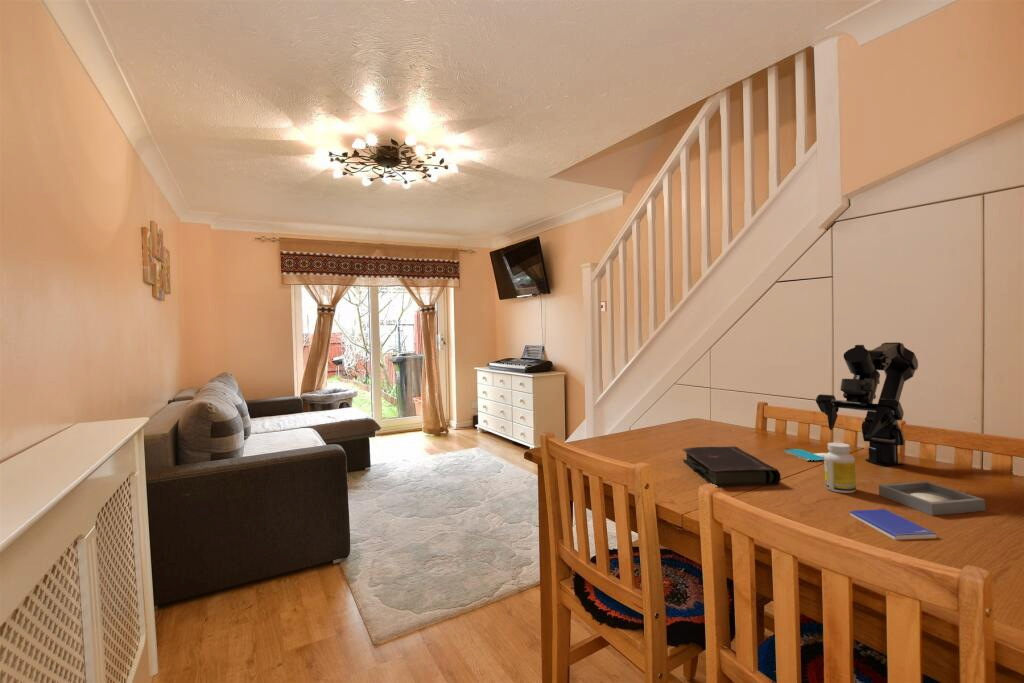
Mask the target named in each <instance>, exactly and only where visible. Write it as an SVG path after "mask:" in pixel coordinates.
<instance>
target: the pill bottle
mask: <svg viewBox="0 0 1024 683" xmlns="http://www.w3.org/2000/svg"><path fill="white" fill-rule="evenodd" d="M827 449H828V452H825V453H826V454H825V456H824V457H823V458H824V463H823V464H824V485H825V487H826V489H827V490H829V491H832V492H835V493H840V494H841V493H843V494H853V493H855V492H856V490H857V478H856V473H857V472H856V458H855V457H854V456H853V455H851V454H850V451H851V445H850V444H847V443H843V442H827Z"/></svg>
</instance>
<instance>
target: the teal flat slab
mask: <svg viewBox="0 0 1024 683" xmlns="http://www.w3.org/2000/svg"><path fill="white" fill-rule="evenodd" d="M783 452H784V454H787V455H788V456H791V457H795V458H796V459H799V460H802V461H804V460H805V462H807V461H810V460H811V461H813V460H814V462H816V461H817V462H816V463H823V462H824V456H825V454H826V453H827V452H819V453H818V452H817V453H813V452H809V451H807V450H803V449H802V448H799V449H797V448H795V449H793V448H791V447H788V448H786V449H783ZM820 461H821V462H820Z"/></svg>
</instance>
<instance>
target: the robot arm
mask: <svg viewBox="0 0 1024 683" xmlns="http://www.w3.org/2000/svg"><path fill="white" fill-rule="evenodd" d="M842 356H843V359H844V361H845V364H846V366H847V367H848V370H849V373H850V374H852V375H853V377H852V378H842V379H841V382H840V383H841V384H840V391H842V392H843V394H842V396H843V398H844V399H846V400H841V399H836V396H835V395H834V394H824V393H823V394H822V393H821V394H818V395H817V396H816V398H815V403H816V404H817V407H818V409H819V411H820V412H821V413H823V414H825V415H826V416H827V422H828V424H827V425H828V428H829V431H832V430H833V429H834V427H835V424H836V422H837V419H838V412H839V410H840V409H850V410H855V411H861V412H862V411H865V412H866V416H865V418H864V420H863V421H862V423H861V432H862V439H863V442H869V443H868V444H869V446H868V458H865V461H866V462H870V463H872V464H875V465H879V466H883V467H888V466H889V467H891V466H900V465H904V463H903V462H902V461H899V452H898V450H899V449H898V447H899V446H904V445H905V439H904V434H903V431H902V429H901V427H900V425H899V423H898V421H902V420H903V418H904V415H905V414H904V409H903V407H902V404H901V401H900V399H901V396H902V392H903V389H904V385H905V382H907V381H909V380H910V379H911V378H913V377H914V375H915V372H916V371H917V370H918V368H919V360H918V358H917V356H916V354H915V352H913V351H912V350H910V349H909V348H906V347H905V345H904V343H902V342H899V341H897V342H894V341H893V342H884V343H881V345H878V346H877V347H875V348H873V349H870V350H869V349H867V348H866V347H865V345H864V344H855V346H854V347H852V348H850V349H847V350H846V351H845V352H844V354H843V355H842ZM880 371H883V372H884V376H885V379H884V383H883V386H882V389H881V391H880V395H879V398H878V401H877V403H874V400H876V398H877V395H876V392H877V389H878V385H880V377H881V374H880Z"/></svg>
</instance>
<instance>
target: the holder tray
mask: <svg viewBox="0 0 1024 683" xmlns="http://www.w3.org/2000/svg"><path fill="white" fill-rule="evenodd" d="M878 495H879V496H880V497H882V498H885V499H888V500H891V501H893V502H896V503H898V504H901V505H904V506H905V507H908V508H911V509H914V510H916V511H919V512H922V513H924V514H927V515H929V516H931V517H933V516H934V517H935V516H943V515H953V514H962V513H963V514H964V513H977V512H985V511H986V499H984V498H982V497H979V496H975V495H973V494H968V493H966V492H963V491H959V490H958V489H957V490H956V489H953V488H950V487H948V486H947V487H946V486H944V485H940V484H937V483H934V482H931V481H927V480H925V481H924V480H923V481H913V482H911V481H910V482H901V483H899V482H898V483H887V484H879V485H878Z"/></svg>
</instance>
